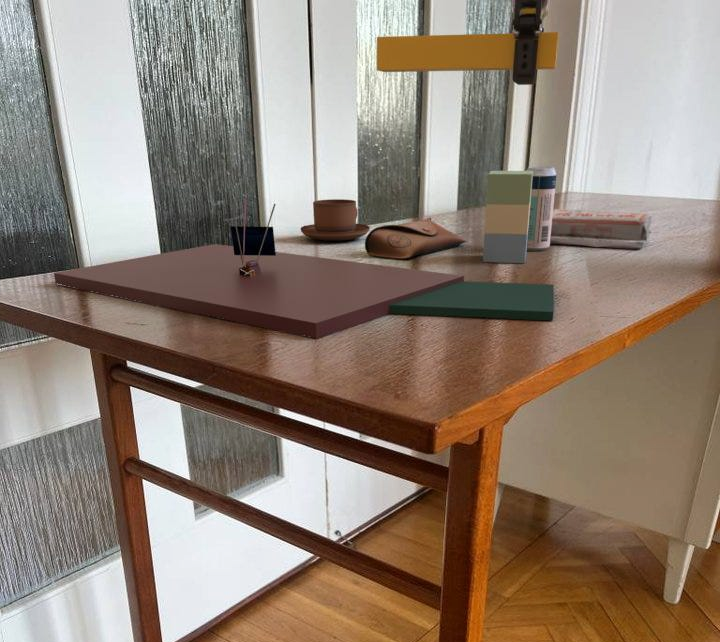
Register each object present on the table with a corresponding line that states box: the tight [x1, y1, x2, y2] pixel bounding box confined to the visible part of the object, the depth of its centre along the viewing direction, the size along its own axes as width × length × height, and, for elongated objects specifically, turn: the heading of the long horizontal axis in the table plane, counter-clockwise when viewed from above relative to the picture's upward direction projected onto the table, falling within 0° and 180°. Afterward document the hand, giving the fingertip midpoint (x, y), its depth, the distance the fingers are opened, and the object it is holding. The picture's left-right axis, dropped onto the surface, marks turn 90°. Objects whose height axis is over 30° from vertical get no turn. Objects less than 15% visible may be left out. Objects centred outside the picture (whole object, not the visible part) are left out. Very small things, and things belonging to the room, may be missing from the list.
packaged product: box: [550, 208, 652, 250], centre depth 124 cm, size 18×5×10 cm
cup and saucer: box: [300, 198, 371, 242], centre depth 130 cm, size 12×12×6 cm
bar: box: [376, 31, 560, 73], centre depth 77 cm, size 18×4×3 cm, turn 77°
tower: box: [482, 170, 533, 264], centre depth 109 cm, size 6×6×12 cm
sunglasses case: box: [364, 216, 467, 260], centre depth 120 cm, size 18×7×7 cm
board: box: [53, 198, 465, 339], centre depth 94 cm, size 45×28×10 cm, turn 52°
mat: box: [389, 280, 555, 321], centre depth 87 cm, size 22×14×1 cm, turn 77°
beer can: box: [525, 166, 557, 252], centre depth 117 cm, size 5×5×12 cm
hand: (524, 82), depth 77 cm, fingers closed on bar, 4 cm apart
